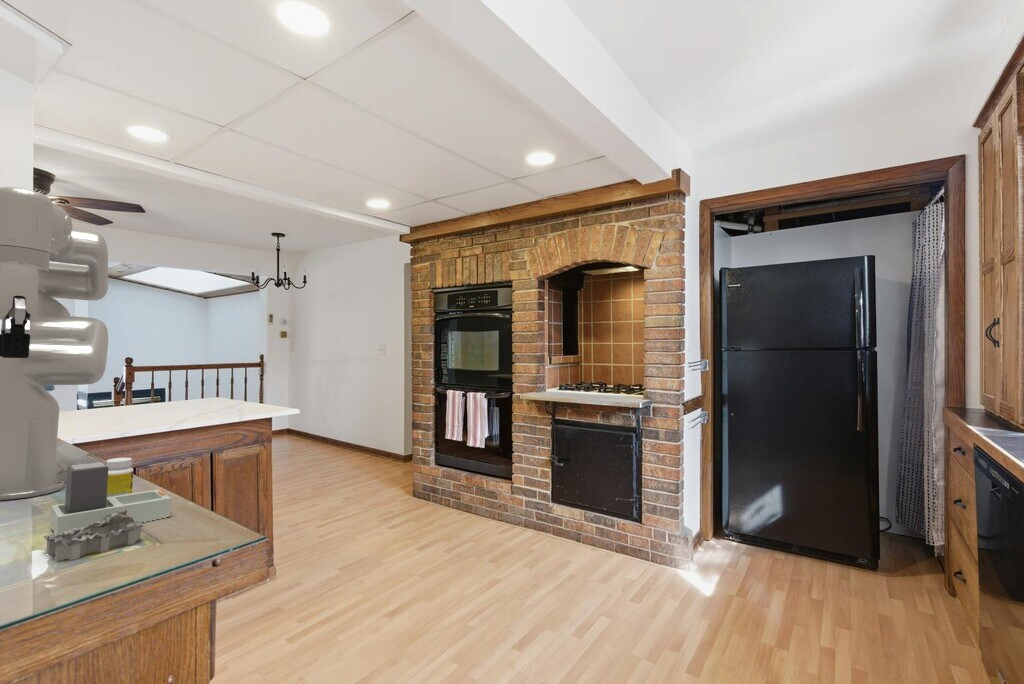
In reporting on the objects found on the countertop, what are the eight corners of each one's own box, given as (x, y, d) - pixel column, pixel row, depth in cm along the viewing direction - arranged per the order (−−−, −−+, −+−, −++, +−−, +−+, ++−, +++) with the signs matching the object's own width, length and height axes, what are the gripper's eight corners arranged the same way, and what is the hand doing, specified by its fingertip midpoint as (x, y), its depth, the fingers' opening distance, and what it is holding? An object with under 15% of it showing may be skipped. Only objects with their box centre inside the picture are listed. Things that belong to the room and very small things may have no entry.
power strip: (56, 539, 75) (58, 515, 75) (49, 526, 80) (51, 503, 81) (169, 517, 87) (171, 496, 87) (157, 507, 92) (158, 487, 92)
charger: (68, 520, 78) (72, 470, 78) (64, 514, 81) (67, 465, 81) (105, 514, 81) (108, 466, 81) (100, 508, 84) (103, 461, 84)
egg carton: (128, 533, 80) (130, 508, 80) (146, 544, 75) (148, 517, 76) (40, 553, 71) (42, 525, 71) (55, 566, 67) (57, 536, 67)
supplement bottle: (135, 501, 95) (138, 459, 95) (105, 507, 91) (108, 463, 91) (126, 497, 98) (128, 456, 98) (96, 502, 94) (99, 459, 94)
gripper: (-15, 262, 87) (-22, 355, 86) (-10, 250, 76) (-18, 357, 75) (43, 268, 93) (37, 356, 92) (55, 258, 81) (48, 359, 81)
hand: (12, 357), depth 84 cm, fingers open, 9 cm apart
